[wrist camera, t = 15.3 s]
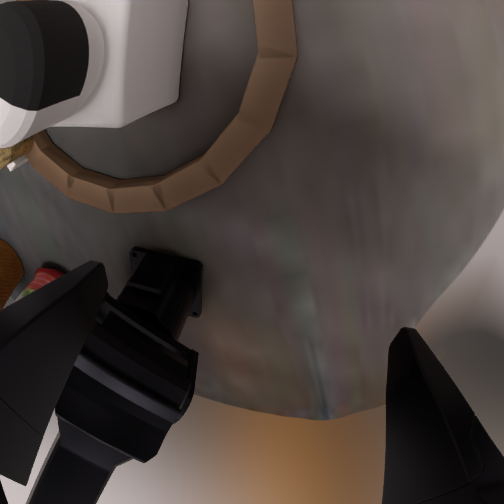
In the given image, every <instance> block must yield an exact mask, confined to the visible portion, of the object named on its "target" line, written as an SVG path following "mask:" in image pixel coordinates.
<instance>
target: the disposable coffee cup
mask: <svg viewBox="0 0 504 504" xmlns="http://www.w3.org/2000/svg"><path fill="white" fill-rule="evenodd" d="M23 275H24V269H23V266H22V263H21V261H20V259H19V257H18V256H17V254H16V253H15V251H14V250H13V249H12V248H11V247H10V246H9V245H8V244H7V243H6V242H5V241H3V240H1V239H0V311H1V310H2V309H3V307H4V305H5V304H6V301H7V300H8V299H9V297H10V295H11V294H12V292H13V291H14V289H15V287H16V286H17V284H18V283H19V281H20V280H21V278H22V277H23Z"/></svg>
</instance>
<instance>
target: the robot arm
mask: <svg viewBox="0 0 504 504" xmlns="http://www.w3.org/2000/svg"><path fill="white" fill-rule="evenodd" d="M135 253H136V254H135ZM130 261H131V268H132V275H131V277H130V278H129V280H128V281H127V283H126V286H125V287H124V289H123V290H122V292H121V293H120V295H119V296H118V298H117V300H115V299H114V298H113V297H111V296H110V295H109V293H108V292H107V289H108V281H107V276H106V272H105V267H104V265H103V263H101V262H97V261H89V262H87V263H85V264H83V265H81V266H79V267H77V268H75V269H73V270H72V271H70V272H68V273H66V274H64V275H62V276H60V277H59V278H57V279H55V280H53V281H51V282H49V283H48V284H46V285H44V286H42V287H40V288H39V289H37V290H35V291H33V292H32V293H30V294H28V295H26V296H25V297H23V298H21V299H19V300H18V301H16V302H14V303H12V304H11V305H9V306H7V307H6V308H4V309H2V310H1V311H0V474H1V475H3V476H5V477H7V478H9V479H11V480H13V481H15V482H17V483H20V484H22V485H24V486H26V485H27V483H28V480H29V476H30V473H31V470H32V467H33V464H34V461H35V458H36V456H37V452H38V450H39V447H40V445H41V442H42V439H43V436H44V433H45V431H46V428H47V426H48V423H49V421H50V418H51V416H52V413H53V411H54V408H55V414H56V416H57V418H58V426H59V432H58V434H57V436H56V438H55V440H54V443H53V444H52V446H51V448H50V450H49V452H48V455H47V457H46V459H45V461H44V463H43V465H42V468H41V470H40V472H39V474H38V476H37V479H36V481H35V483H34V486H33V488H32V490H31V492H30V495H29V497H28V500H27V502H26V504H96V503H97V501H98V499H99V497H100V495H101V493H102V491H103V490H104V487H105V486H106V484H107V482H108V480H109V478H110V476H111V474H112V473H113V471H114V469H115V468H116V466H118V465H121V464H123V463H125V462H127V461H130V460H132V459H136V460H138V461H140V462H142V463H145V462H147V461H149V460H150V459H151V458H153V457H154V456H155V455H157V453H158V451H159V449H160V447H161V444H162V442H163V440H164V438H165V436H166V434H167V432H168V431H169V429H170V427H171V426H172V424H174V423H176V422H177V421H178V420H180V418H181V417H182V416H183V415H184V413H185V412H186V410H187V408H188V407H189V405H190V403H191V400H192V397H193V394H194V389H195V380H196V371H197V363H198V354H199V353H198V352H196V351H195V350H193V349H192V350H191V349H189V348H188V347H186V346H184V345H183V344H181V343H179V342H178V338H179V336H180V333H181V331H182V329H183V326H184V324H185V321H186V319H187V317H188V316H192V317H196V318H197V317H199V316H200V314H201V303H202V273H203V266H202V264H201V263H200V262H198V261H194V260H189V259H185V258H180V257H176V256H171V255H167V254H163V253H158V252H154V251H149V250H145V249H141V248H136V247H134V248H132V250H131V251H130ZM195 267H197V268H195ZM0 504H8V502H7V499H6V496H5V493H4V490H3V487H2V484H1V481H0ZM382 504H504V456H503V455H502V454H501V452H500V451H499V449H498V448H497V447H496V445H495V444H494V442H493V441H492V439H491V438H490V437H489V435H488V433H487V432H486V430H485V429H484V427H483V426H482V424H481V423H480V421H479V419H478V418H477V416H475V413H474V412H473V410H472V409H471V407H470V406H469V404H468V402H467V401H466V400H465V398H464V396H463V395H462V393H461V392H460V390H459V389H458V387H457V386H456V385H455V383H454V382H453V380H452V379H451V377H450V376H449V374H448V373H447V372H446V370H445V369H444V367H443V366H442V364H441V363H440V362H439V360H438V359H437V357H436V356H435V355H434V353H433V352H432V351H431V349H430V348H429V346H428V345H427V344H426V342H425V341H424V340H423V338H422V337H421V336H420V334H419V333H418V332H417V330H416V329H414V328H408V327H403V328H401V329H400V331H399V332H398V334H397V335H396V337H395V338H394V339H393V341H392V342H391V344H390V346H389V352H388V371H387V385H386V451H385V471H384V486H383V498H382Z"/></svg>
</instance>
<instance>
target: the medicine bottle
mask: <svg viewBox="0 0 504 504" xmlns="http://www.w3.org/2000/svg"><path fill="white" fill-rule="evenodd" d="M187 9H188V0H29V1H12V2H6V3H3V4H0V148H7V147H10V146H13V145H15V144H17V143H19V142H20V141H22V140H24V139H26V138H28V137H30V136H32V135H34V134H36V133H38V132H40V131H42V130H44V129H46V128H48V127H104V128H121V127H123V126H125V125H127V124H129V123H131V122H133V121H135V120H137V119H139V118H142V117H144V116H146V115H148V114H150V113H152V112H154V111H157V110H159V109H161V108H163V107H166V106H168V105H170V104H172V103H175V102H176V101H177V100H178V96H179V83H180V71H181V60H182V50H183V41H184V32H185V24H186V16H187Z"/></svg>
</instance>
